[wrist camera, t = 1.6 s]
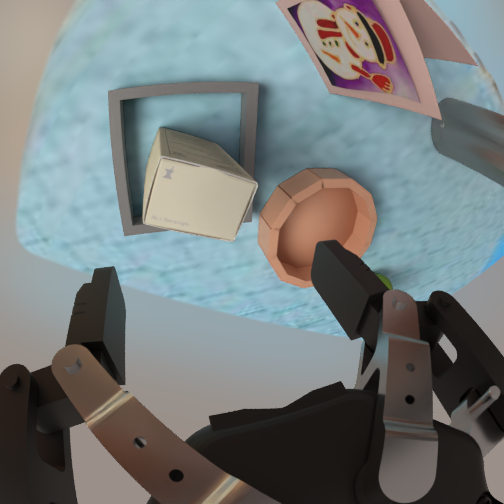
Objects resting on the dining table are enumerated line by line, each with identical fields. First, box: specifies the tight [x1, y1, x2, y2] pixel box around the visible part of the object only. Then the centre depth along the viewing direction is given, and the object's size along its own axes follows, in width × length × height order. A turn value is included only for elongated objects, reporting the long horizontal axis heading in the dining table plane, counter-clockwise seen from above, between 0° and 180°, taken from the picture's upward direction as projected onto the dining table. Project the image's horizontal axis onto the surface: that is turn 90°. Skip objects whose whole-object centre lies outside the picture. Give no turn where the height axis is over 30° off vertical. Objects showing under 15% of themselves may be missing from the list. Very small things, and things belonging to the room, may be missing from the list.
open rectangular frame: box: [108, 82, 259, 236], centre depth 25 cm, size 13×14×2 cm
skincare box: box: [143, 127, 258, 242], centre depth 21 cm, size 6×4×12 cm
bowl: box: [258, 168, 377, 288], centre depth 33 cm, size 14×14×4 cm
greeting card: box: [276, 0, 478, 120], centre depth 17 cm, size 11×7×15 cm, turn 33°
